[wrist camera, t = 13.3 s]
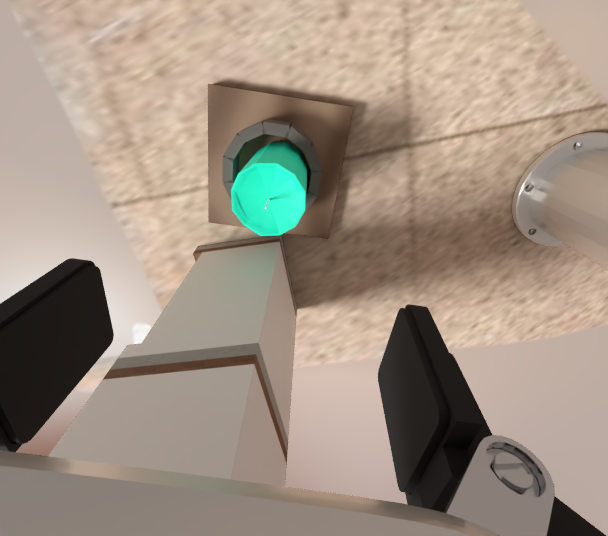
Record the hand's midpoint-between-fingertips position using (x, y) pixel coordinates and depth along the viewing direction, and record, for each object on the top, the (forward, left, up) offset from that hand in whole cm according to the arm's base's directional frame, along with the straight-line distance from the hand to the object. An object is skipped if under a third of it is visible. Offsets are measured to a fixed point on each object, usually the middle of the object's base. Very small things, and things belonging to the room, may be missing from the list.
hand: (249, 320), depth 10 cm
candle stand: (+2, +1, -28) cm, 28 cm away
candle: (+1, +1, -27) cm, 27 cm away
